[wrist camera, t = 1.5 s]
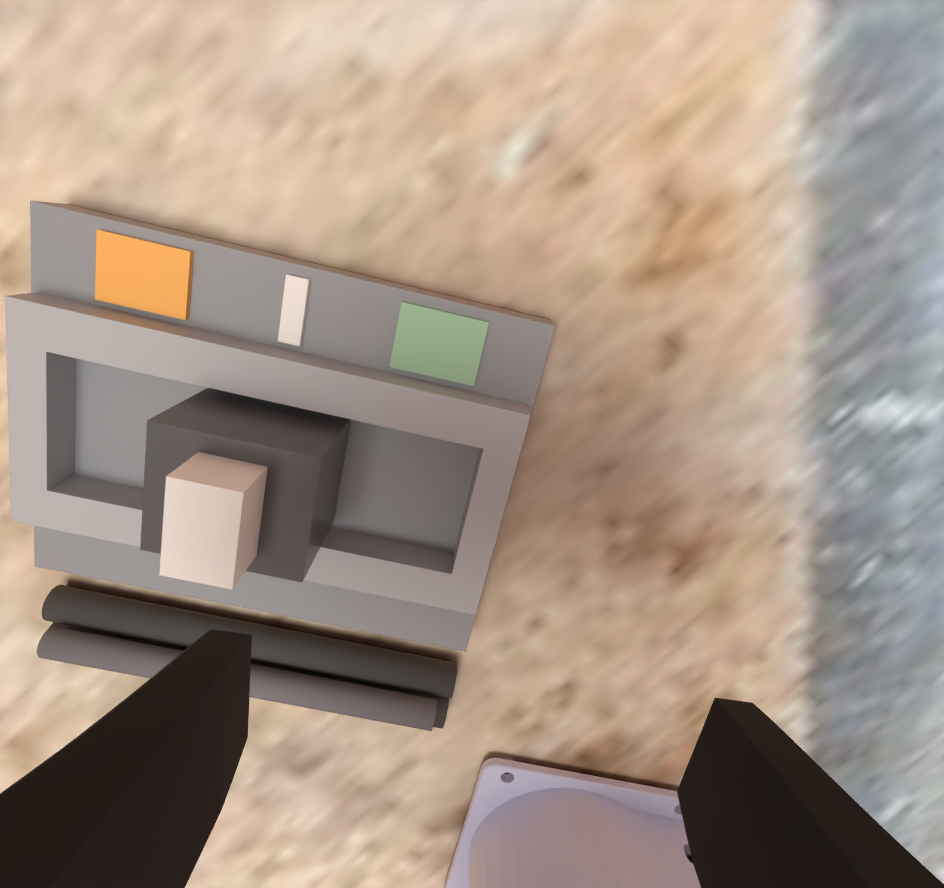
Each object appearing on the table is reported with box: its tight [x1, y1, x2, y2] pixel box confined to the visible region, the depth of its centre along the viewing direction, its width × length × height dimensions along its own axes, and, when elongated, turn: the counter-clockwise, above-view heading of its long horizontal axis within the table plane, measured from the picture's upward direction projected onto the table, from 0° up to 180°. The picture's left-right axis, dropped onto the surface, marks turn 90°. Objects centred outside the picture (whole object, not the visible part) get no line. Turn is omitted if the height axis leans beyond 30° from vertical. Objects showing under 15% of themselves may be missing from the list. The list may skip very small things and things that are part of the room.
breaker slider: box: [140, 388, 351, 590], centre depth 15 cm, size 4×3×5 cm
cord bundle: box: [37, 585, 457, 731], centre depth 20 cm, size 14×3×2 cm, turn 77°
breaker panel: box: [5, 201, 556, 652], centre depth 17 cm, size 14×11×3 cm
